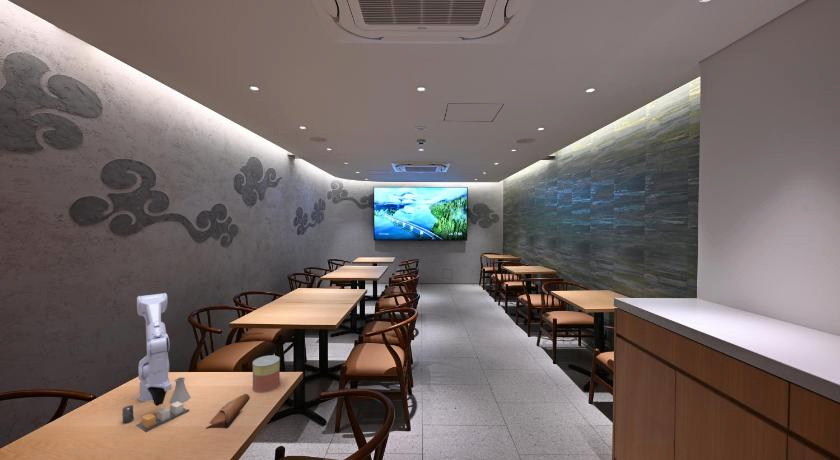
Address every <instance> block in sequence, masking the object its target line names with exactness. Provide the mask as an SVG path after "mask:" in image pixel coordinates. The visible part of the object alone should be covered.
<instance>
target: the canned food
mask: <svg viewBox="0 0 840 460" xmlns="http://www.w3.org/2000/svg"><path fill="white" fill-rule="evenodd" d="M280 360H281V358H280V356H277V355H273V354H272V355H263V356H260V357H257V358H255V359H254V360H253V361H252V391H253V392H255V393H258V394H262V393H263V394H264V393H269V392H272V391H274V390H276V389H278V388H279V387H278V386H280V385H281V382H280V381H281V380H280V377H281V376H280V375H281V373H280V368H281V367H280Z"/></svg>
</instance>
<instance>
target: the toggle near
mask: <svg viewBox="0 0 840 460" xmlns="http://www.w3.org/2000/svg"><path fill="white" fill-rule="evenodd" d="M169 404H170V409H169V410H170V411H171V413H173V414H175V415H177V414H179V413H181V412H183V408H184V403H180V402H178V401H177V402H175V403H173V404H171V403H169Z"/></svg>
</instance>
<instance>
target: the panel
mask: <svg viewBox="0 0 840 460" xmlns="http://www.w3.org/2000/svg"><path fill="white" fill-rule="evenodd" d="M189 412H190V408H188V409H186V408H184V407H183V412H181V413H179V414H177V415H175V414H173V413H171V411H170V418H168V419H166V420H164V421H161V420H159V419H157V415H155V416H156V424H155V425H153V426H151V427H149V428H146V427H144V426H143V425H142V421H141V422H140V423H137V424H135V427H137V428H138V429H140V430H142V431H143V432H145V433H147V432H151V431H152V430H153V429H154V430H155V429H156V428H158V427H160V426H162V425H164V424H166V423H168V422H171V421H173V420H176V419H177V418H179V417H181V416H183V415H186V414H188V413H189Z"/></svg>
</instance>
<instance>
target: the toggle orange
mask: <svg viewBox="0 0 840 460" xmlns="http://www.w3.org/2000/svg"><path fill="white" fill-rule="evenodd" d="M156 416H157V415H154V414H152V413H148V414H146V415H144V416H142V417H141V422H142V425H143V426H144V427H146V428H149V427H151V426H153V425H155V424H156Z"/></svg>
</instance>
